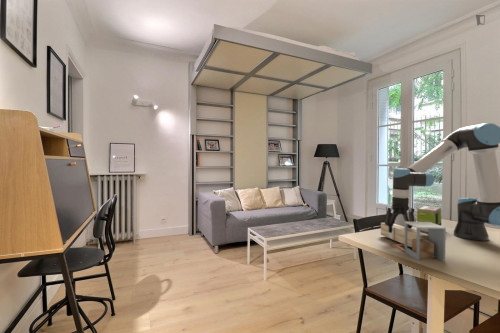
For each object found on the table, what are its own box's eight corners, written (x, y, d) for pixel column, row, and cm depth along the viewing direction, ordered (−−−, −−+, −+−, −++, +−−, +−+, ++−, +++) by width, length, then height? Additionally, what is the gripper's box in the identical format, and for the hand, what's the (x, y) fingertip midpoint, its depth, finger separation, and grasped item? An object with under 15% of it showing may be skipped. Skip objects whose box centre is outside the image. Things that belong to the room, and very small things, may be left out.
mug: (393, 227, 161) (393, 211, 161) (397, 225, 167) (397, 209, 167) (414, 231, 152) (414, 214, 152) (417, 229, 158) (418, 212, 158)
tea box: (423, 226, 163) (423, 205, 163) (442, 229, 156) (442, 207, 156) (416, 230, 154) (417, 207, 154) (436, 234, 146) (436, 210, 146)
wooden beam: (389, 234, 140) (390, 222, 140) (430, 249, 114) (430, 235, 114) (380, 234, 139) (380, 222, 139) (419, 250, 113) (419, 235, 113)
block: (425, 253, 113) (425, 239, 113) (434, 258, 107) (434, 243, 107) (412, 253, 113) (412, 238, 113) (420, 258, 107) (420, 243, 107)
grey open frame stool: (417, 246, 123) (418, 217, 123) (445, 261, 104) (445, 227, 104) (394, 246, 124) (394, 217, 124) (417, 260, 105) (417, 226, 105)
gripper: (415, 196, 131) (414, 237, 132) (378, 195, 133) (376, 235, 134) (424, 198, 124) (422, 241, 124) (384, 197, 125) (383, 240, 126)
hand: (399, 238), depth 129 cm, fingers closed on wooden beam, 7 cm apart
